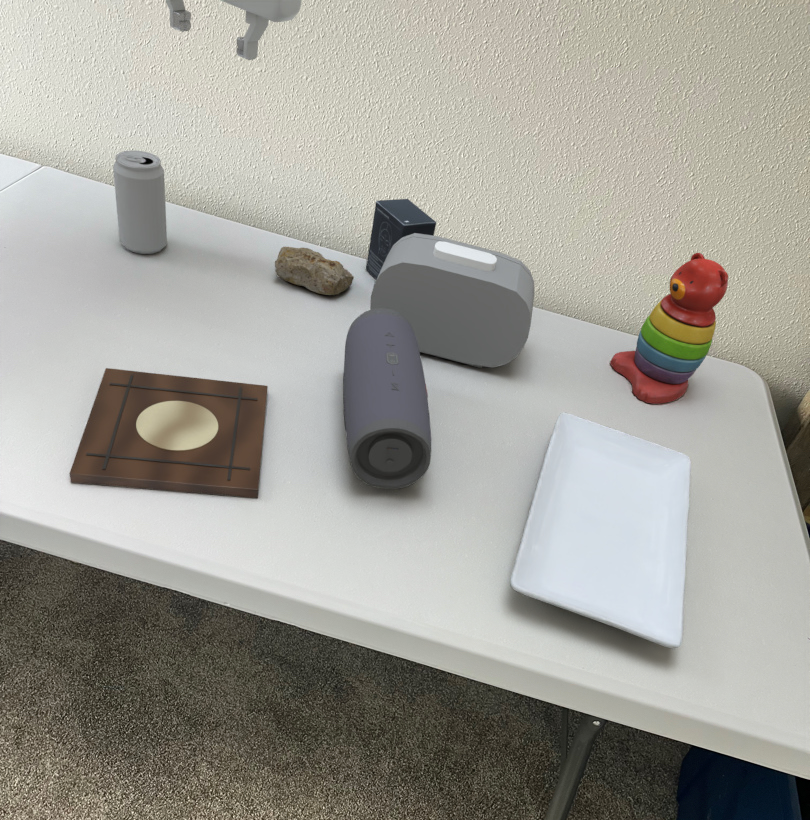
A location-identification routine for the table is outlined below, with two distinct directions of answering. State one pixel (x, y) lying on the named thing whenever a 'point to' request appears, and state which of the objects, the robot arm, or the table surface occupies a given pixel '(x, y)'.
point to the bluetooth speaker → (385, 401)
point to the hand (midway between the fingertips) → (213, 43)
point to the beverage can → (140, 201)
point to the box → (394, 229)
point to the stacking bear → (675, 333)
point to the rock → (312, 271)
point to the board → (173, 434)
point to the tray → (609, 530)
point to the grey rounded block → (458, 298)
